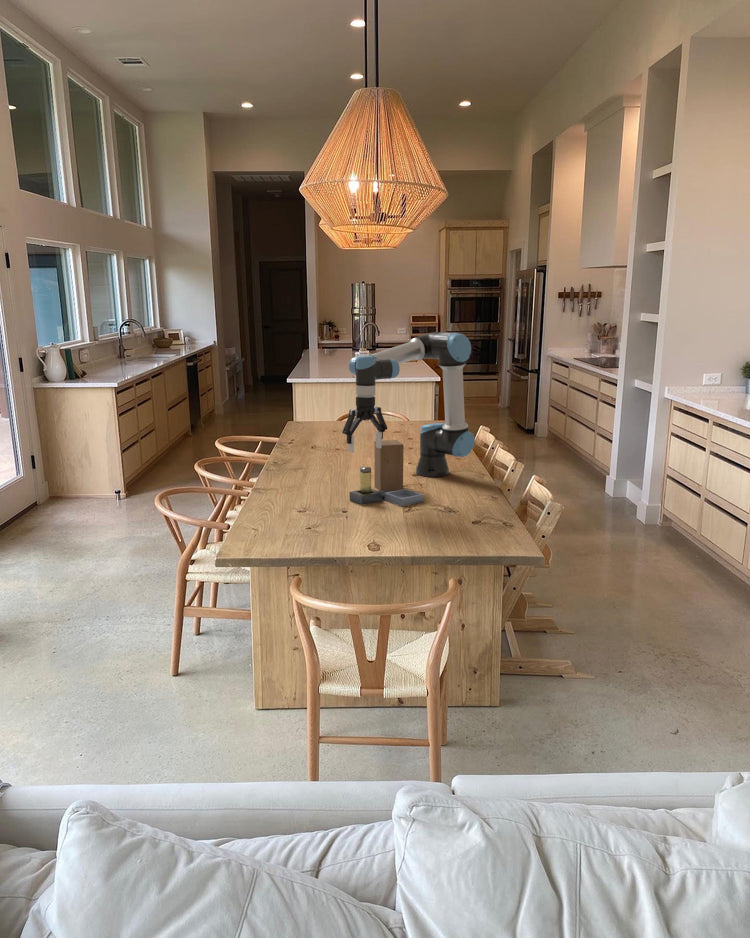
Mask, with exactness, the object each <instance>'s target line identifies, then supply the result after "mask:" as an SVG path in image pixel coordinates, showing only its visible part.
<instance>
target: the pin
mask: <svg viewBox="0 0 750 938" xmlns="http://www.w3.org/2000/svg"><path fill="white" fill-rule="evenodd" d="M371 489H372V467H370V466H361V467H360V468H359V490H360V493H361V494H364V495H365V494H370V493H371Z"/></svg>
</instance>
